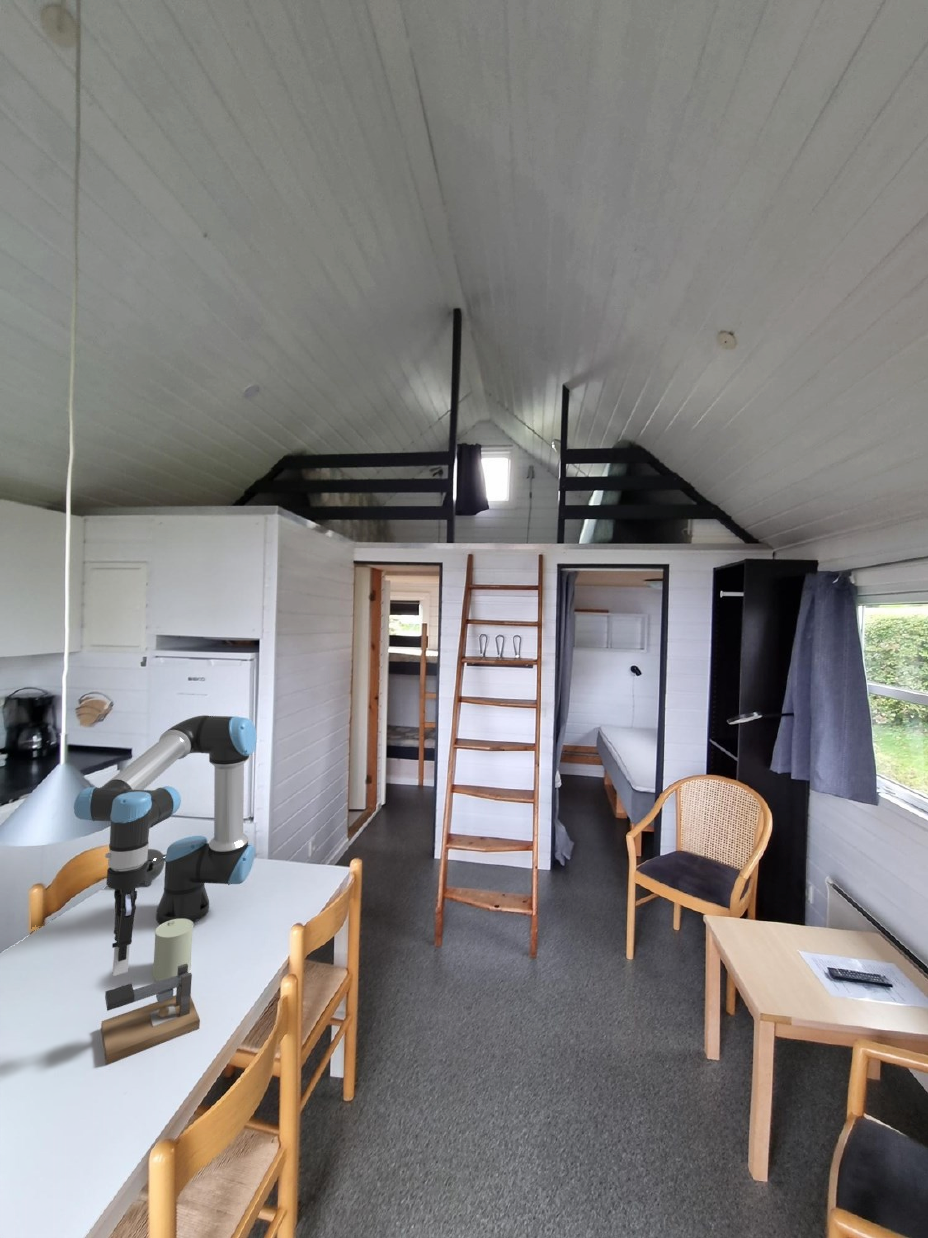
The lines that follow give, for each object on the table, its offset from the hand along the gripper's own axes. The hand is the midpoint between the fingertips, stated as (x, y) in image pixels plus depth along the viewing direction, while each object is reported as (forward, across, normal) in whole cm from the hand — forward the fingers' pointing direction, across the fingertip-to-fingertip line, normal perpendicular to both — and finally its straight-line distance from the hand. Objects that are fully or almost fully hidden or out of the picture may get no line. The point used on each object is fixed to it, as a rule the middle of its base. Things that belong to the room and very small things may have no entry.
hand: (120, 972), depth 118 cm
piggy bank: (+15, -80, +15) cm, 82 cm away
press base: (+15, 0, +7) cm, 17 cm away
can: (+15, -20, +15) cm, 30 cm away
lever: (+9, 0, +6) cm, 11 cm away
